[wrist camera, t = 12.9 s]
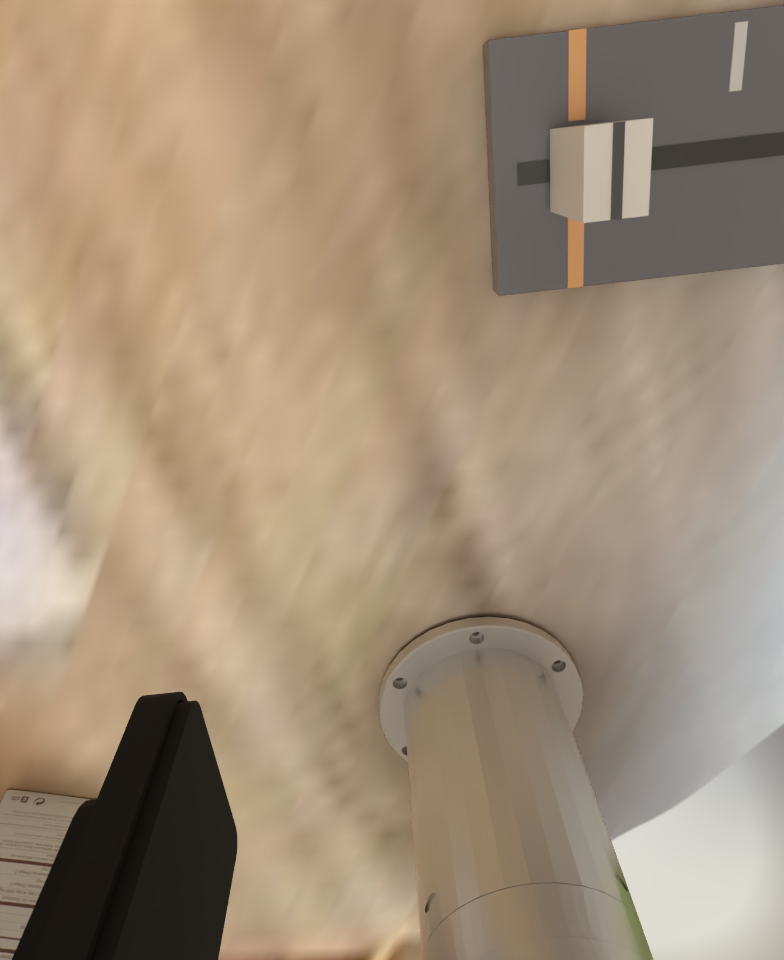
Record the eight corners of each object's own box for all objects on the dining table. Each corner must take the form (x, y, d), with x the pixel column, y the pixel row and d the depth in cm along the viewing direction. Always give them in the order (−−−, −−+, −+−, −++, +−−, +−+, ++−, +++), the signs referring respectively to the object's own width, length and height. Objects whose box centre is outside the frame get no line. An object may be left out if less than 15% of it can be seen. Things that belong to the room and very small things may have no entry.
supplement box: (114, 871, 50) (41, 1086, 39) (5, 859, 49) (-103, 1075, 38) (122, 799, 47) (45, 1009, 36) (6, 784, 46) (-111, 995, 35)
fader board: (915, 241, 33) (939, 245, 32) (493, 289, 33) (498, 296, 32) (967, -13, 29) (999, -21, 27) (482, 44, 29) (489, 39, 28)
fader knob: (605, 205, 30) (649, 215, 26) (550, 211, 30) (583, 223, 26) (607, 122, 29) (654, 117, 24) (549, 129, 29) (584, 125, 24)
